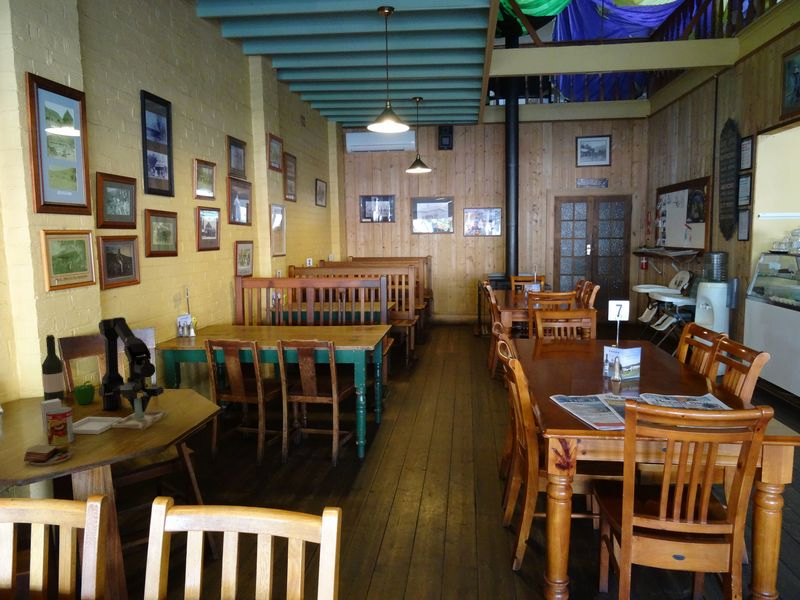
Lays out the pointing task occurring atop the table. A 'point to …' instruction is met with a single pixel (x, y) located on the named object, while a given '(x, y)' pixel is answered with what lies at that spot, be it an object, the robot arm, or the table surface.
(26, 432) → the table surface
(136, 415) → the pin
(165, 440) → the table surface
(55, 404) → the skincare box
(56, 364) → the wine bottle
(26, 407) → the table surface
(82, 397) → the bell pepper
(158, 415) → the tray
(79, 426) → the white rimmed platter
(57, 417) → the canned food
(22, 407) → the table surface
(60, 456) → the toy sandwich meal
